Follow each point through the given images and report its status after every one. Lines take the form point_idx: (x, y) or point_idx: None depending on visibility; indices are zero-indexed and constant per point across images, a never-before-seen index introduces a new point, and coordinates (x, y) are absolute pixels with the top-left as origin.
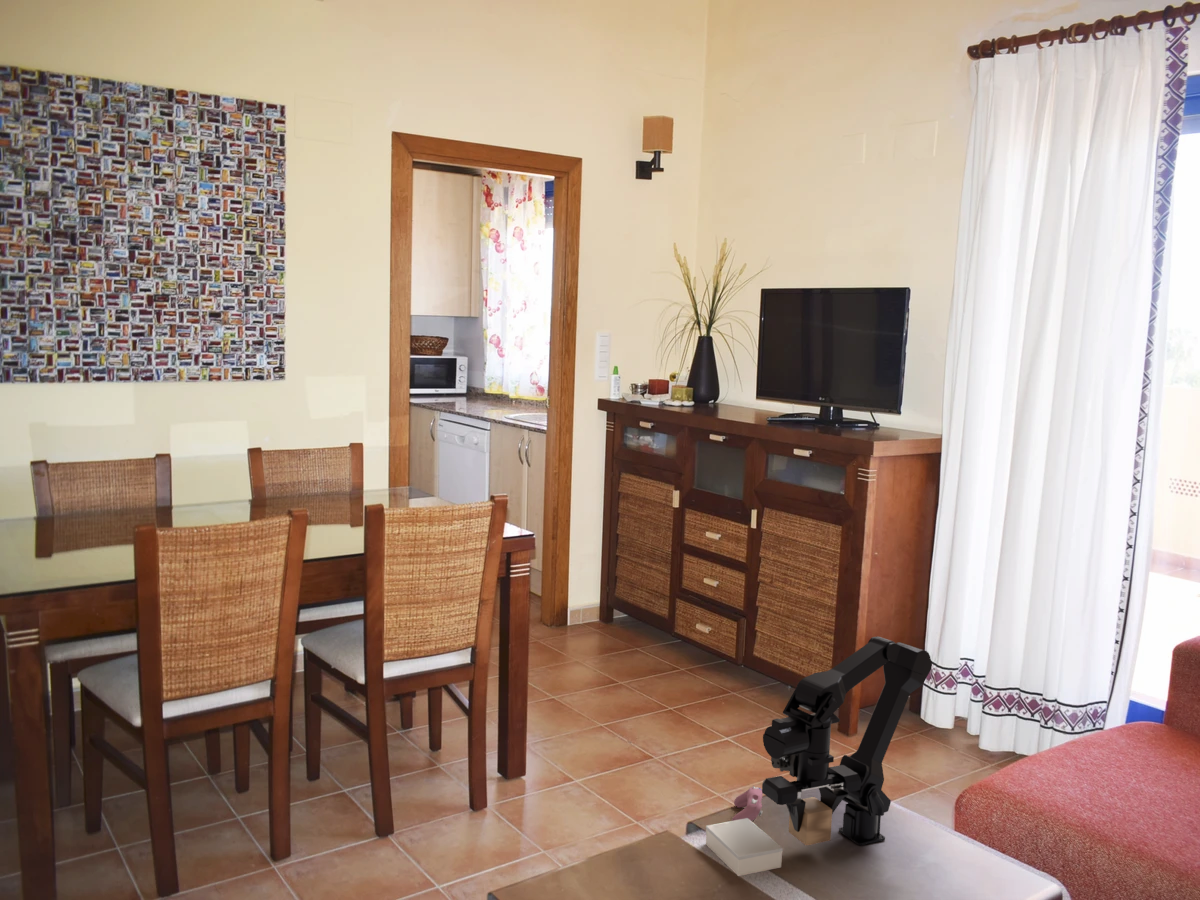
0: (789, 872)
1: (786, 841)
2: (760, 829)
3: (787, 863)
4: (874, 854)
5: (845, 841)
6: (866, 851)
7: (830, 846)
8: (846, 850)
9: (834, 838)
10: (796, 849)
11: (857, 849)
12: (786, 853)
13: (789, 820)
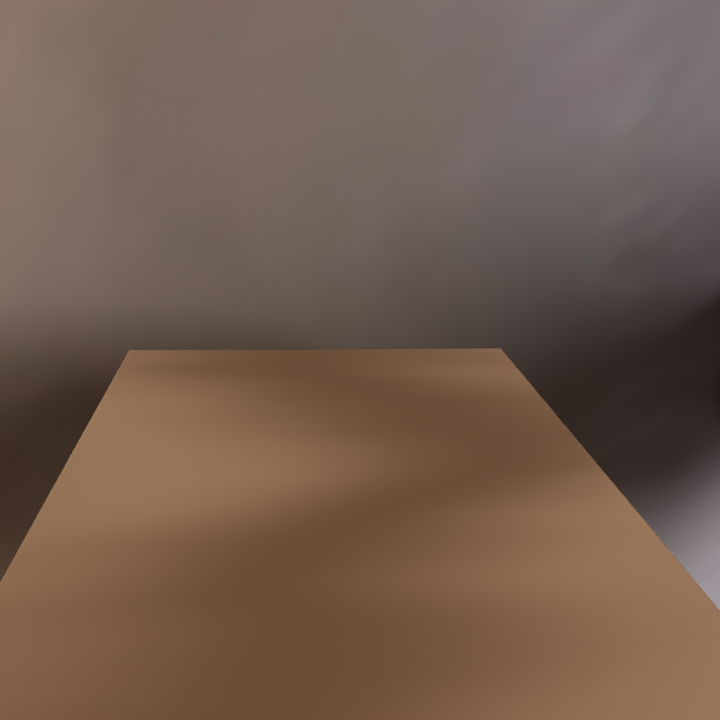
0: (11, 540)
1: (254, 123)
2: None
3: (55, 446)
4: (700, 515)
5: (711, 332)
6: (696, 478)
7: (553, 352)
8: (602, 432)
9: (687, 261)
10: (259, 294)
11: (674, 444)
12: (127, 319)
13: (75, 458)
